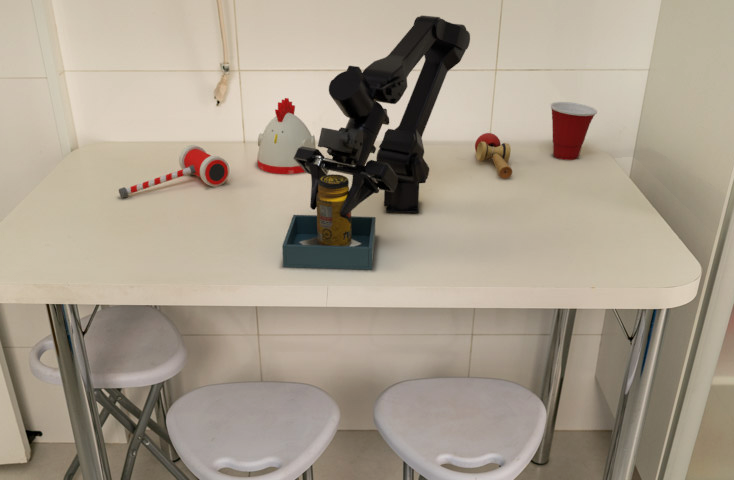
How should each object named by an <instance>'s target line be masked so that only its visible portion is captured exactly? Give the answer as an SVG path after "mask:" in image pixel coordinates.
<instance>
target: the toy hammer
mask: <svg viewBox="0 0 734 480" xmlns="http://www.w3.org/2000/svg"><path fill="white" fill-rule="evenodd" d="M178 163H179V167H180V168H181V169H178V170H177V171H173V172H170V173H167V174H164V175H161V176H159V177H155V178H153V179H150V180H147V181H143V182H141V183H137V184H134V185H132V186H129V187H121V188H118V194H119V196H120V198H121V199H124V198H127V197H128V196H129V195H131V194H134V193H137V192H140V191H143V190H146V189H150V188H152V187H156V186H159V185H161V184H163V183H167V182H169V181H173V180H175V179H179V178H182V177H184V176H187V175H191V176H197V177H198V178H201V179H200V180H201V181H203V183H205V185H208V186H211V187H212V188H214V187H220V186H222V185H224V183H226V181H228V178H229V175H230V166H229V163H228V162H227V160H226V159H225V158H222V157H220V156H218V155H211V154H209V153H207V151H206V150H205V149H204V148H202V147H200V146H198V145H195V144H190V145H187V146H186V147H184V148H183V149H182V151H181V152H180V154H179V156H178Z"/></svg>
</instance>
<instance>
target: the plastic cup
mask: <svg viewBox="0 0 734 480" xmlns="http://www.w3.org/2000/svg"><path fill="white" fill-rule="evenodd" d="M550 109H551V120H552V122H551V123H552V125H551V126H552V127H551V128H552V153H553V157H554V158H555V159H558V160H562V161H563V160H564V161H573V160H577V159H579V158H578V157H579V156H580V153H581V151H582V146H583V144H584V142H585V139H586V136H587V134H588V130H589V127H590V125H591V124H592V120H593V119H594V117H595V115H597V113H598V110H597V109H596V108H594V107H592V106H589V105H586V104H582V103H577V102H570V101H554V102H552V103H550Z"/></svg>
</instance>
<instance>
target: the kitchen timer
mask: <svg viewBox="0 0 734 480" xmlns="http://www.w3.org/2000/svg"><path fill="white" fill-rule="evenodd" d="M274 111H275V116H274V117H273V118H272V119H270V121H269V122H268V124H267V125H266V126H265V129H264V130H263V133H259V134H258V136H257V137H258V138H257V146H258V151H257V167H258V169H260V170H261V171H263V172H266V173H270V174H277V175H296V174H303V173H306V172H305V171H304V170H303V169H302V167H301V166H300V165H299V164H298V163H297V162H296V161H295V160H294V159H293V158H294V156H295V153H296V151H297V149H298V148H300V147H302V146H304V147H309V148H314V149H317V145H316V138H315V135H312V134H311V131H310V130H309V128H308V127H307V125H306V124H305V122H303V120H302V119H301V118H300V117H298V116H297V115H295V111H296V105H293V101H290V99H289V98H288V97H284V99H281V102H277V109H274Z"/></svg>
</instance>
